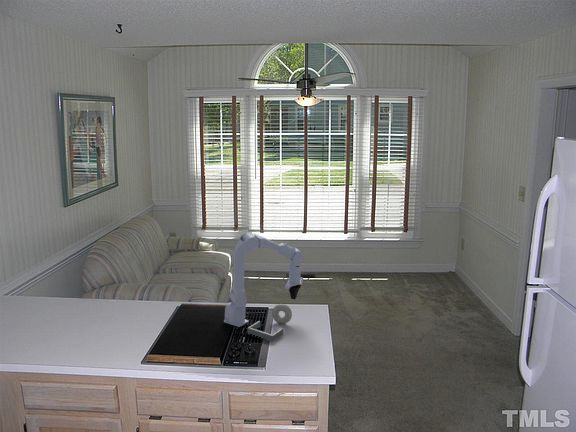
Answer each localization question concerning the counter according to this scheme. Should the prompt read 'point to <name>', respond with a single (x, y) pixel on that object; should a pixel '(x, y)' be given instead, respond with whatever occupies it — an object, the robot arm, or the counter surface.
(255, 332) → the bracket
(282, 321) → the donut
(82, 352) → the counter surface
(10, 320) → the counter surface
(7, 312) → the counter surface
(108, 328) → the counter surface
